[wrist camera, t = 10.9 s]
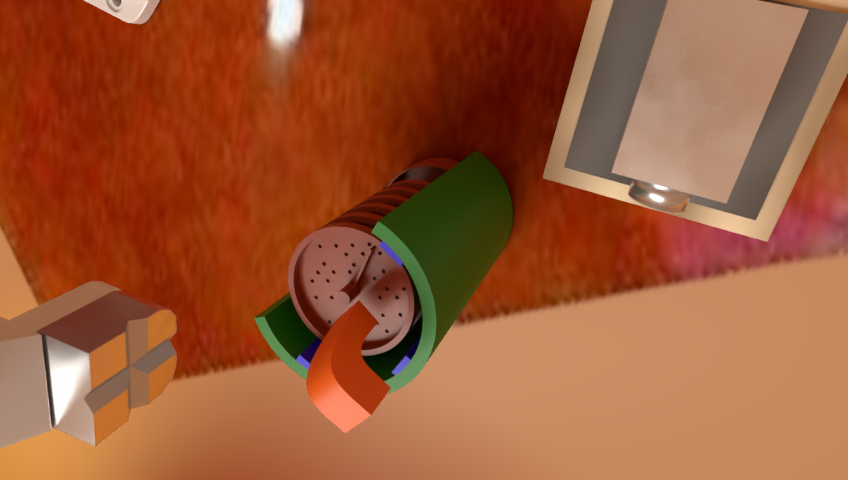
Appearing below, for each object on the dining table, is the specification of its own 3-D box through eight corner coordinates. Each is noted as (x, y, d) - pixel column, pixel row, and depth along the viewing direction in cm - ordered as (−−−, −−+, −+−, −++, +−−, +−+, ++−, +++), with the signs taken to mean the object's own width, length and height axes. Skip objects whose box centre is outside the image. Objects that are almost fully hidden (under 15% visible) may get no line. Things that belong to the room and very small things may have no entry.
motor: (439, 119, 40) (271, 207, 22) (544, 203, 39) (455, 361, 22) (365, 226, 45) (178, 367, 27) (457, 302, 44) (328, 496, 27)
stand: (555, 158, 38) (541, 179, 33) (614, -47, 33) (607, -56, 28) (753, 212, 35) (768, 243, 30) (850, -3, 30) (886, -5, 25)
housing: (670, -12, 28) (673, -16, 24) (783, 9, 27) (809, 9, 22) (609, 174, 32) (602, 200, 28) (705, 200, 31) (714, 232, 26)
